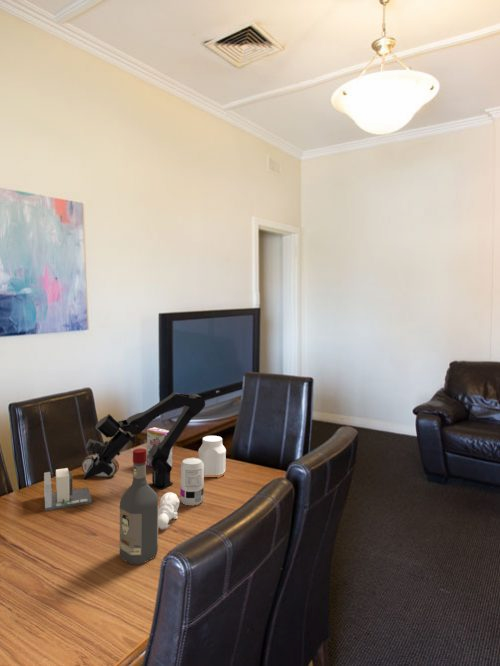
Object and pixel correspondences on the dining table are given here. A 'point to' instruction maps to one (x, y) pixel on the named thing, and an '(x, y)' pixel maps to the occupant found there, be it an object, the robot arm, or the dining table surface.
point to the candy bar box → (156, 441)
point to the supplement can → (192, 481)
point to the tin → (115, 467)
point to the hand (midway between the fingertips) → (84, 478)
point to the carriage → (63, 485)
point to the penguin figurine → (167, 509)
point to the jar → (213, 455)
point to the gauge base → (74, 500)
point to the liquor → (139, 516)
